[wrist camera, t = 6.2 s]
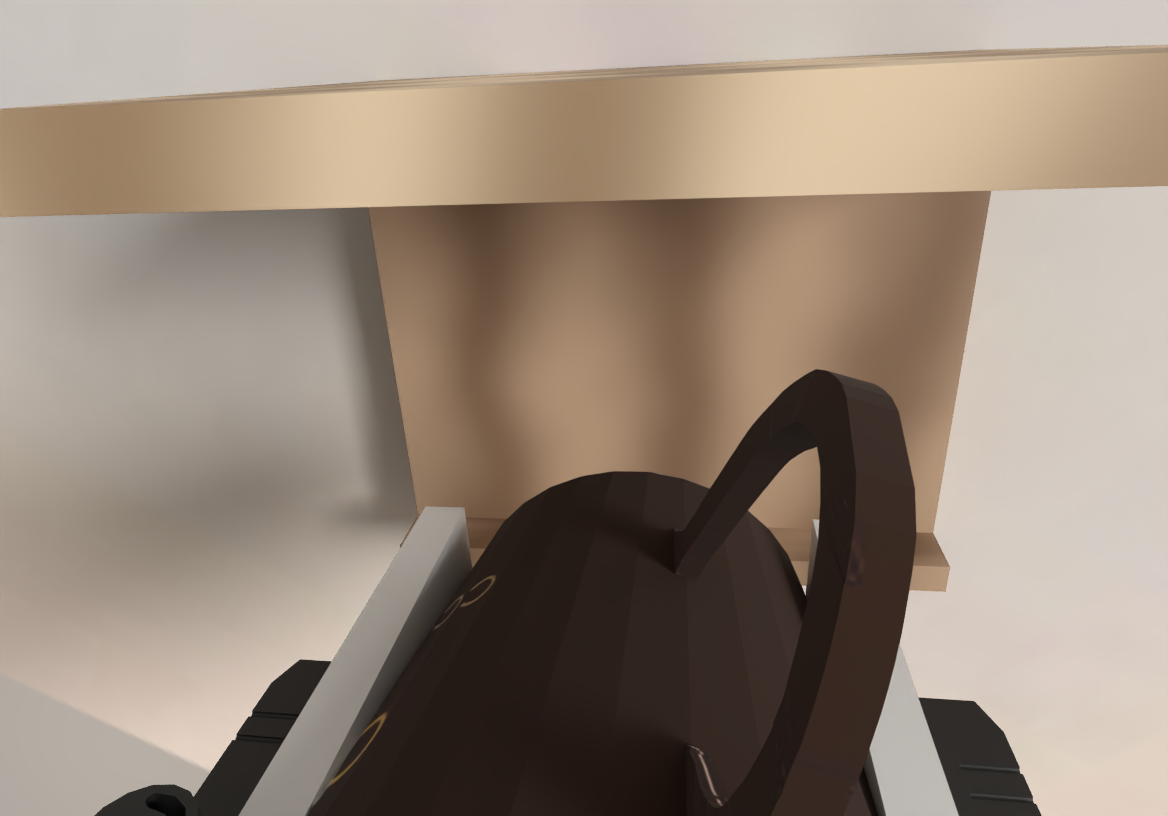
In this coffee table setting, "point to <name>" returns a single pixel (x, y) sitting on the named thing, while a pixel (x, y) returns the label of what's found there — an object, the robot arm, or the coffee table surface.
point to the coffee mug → (664, 642)
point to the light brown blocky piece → (639, 240)
